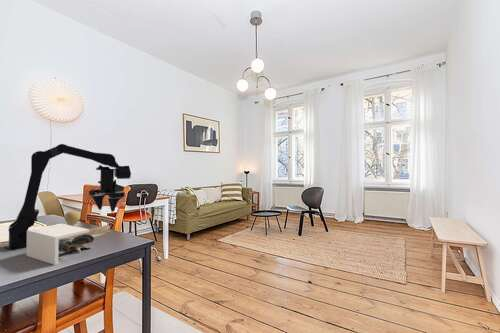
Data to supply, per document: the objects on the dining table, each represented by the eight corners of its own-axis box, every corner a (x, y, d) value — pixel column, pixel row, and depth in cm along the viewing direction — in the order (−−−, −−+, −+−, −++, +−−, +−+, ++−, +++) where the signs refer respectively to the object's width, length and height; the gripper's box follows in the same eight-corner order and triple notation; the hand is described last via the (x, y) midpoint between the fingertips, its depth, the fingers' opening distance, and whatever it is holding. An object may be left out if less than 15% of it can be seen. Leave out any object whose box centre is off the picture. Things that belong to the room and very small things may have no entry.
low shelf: (26, 255, 91) (26, 230, 91) (60, 246, 101) (61, 223, 101) (54, 264, 83) (55, 237, 83) (88, 253, 94) (89, 229, 94)
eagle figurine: (74, 254, 90) (97, 243, 98) (64, 237, 91) (89, 228, 99) (66, 261, 94) (89, 249, 102) (57, 245, 94) (81, 235, 102)
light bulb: (71, 232, 120) (72, 212, 120) (61, 231, 121) (61, 211, 121) (83, 229, 126) (83, 210, 126) (72, 228, 128) (73, 209, 128)
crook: (55, 247, 101) (55, 238, 101) (105, 231, 124) (106, 225, 124) (73, 250, 98) (73, 241, 98) (121, 234, 121) (121, 227, 121)
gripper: (134, 179, 124) (133, 209, 124) (109, 177, 132) (108, 206, 132) (114, 180, 114) (113, 213, 114) (88, 178, 122) (88, 209, 122)
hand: (106, 210), depth 121 cm, fingers open, 9 cm apart
